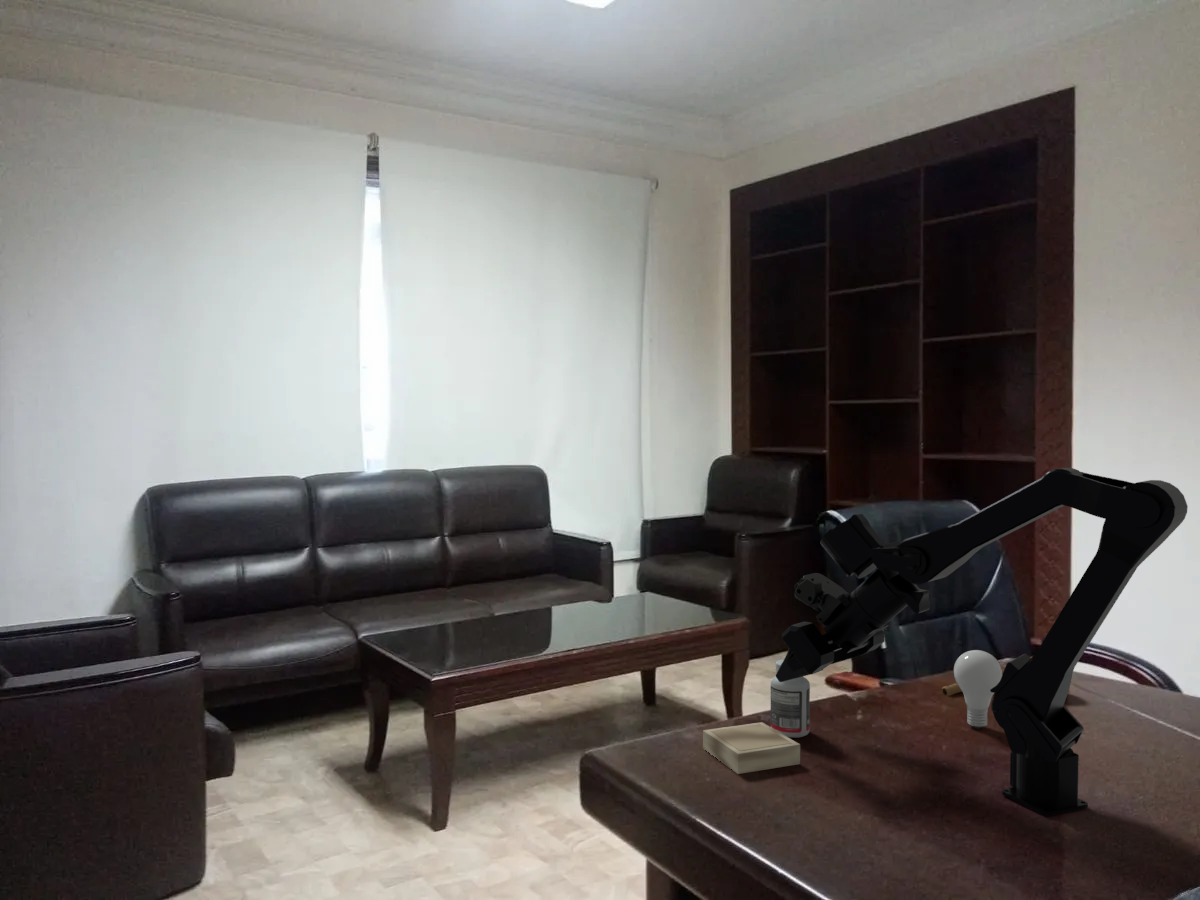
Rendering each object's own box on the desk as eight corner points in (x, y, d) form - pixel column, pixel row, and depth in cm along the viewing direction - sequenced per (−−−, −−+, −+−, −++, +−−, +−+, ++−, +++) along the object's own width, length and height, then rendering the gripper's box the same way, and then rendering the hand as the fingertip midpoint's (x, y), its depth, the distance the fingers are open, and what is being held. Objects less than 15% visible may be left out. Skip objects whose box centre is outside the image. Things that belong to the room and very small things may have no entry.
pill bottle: (786, 723, 126) (787, 655, 126) (817, 733, 122) (818, 663, 122) (762, 731, 123) (762, 661, 123) (793, 741, 119) (793, 670, 118)
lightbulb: (1009, 735, 121) (1010, 656, 121) (963, 735, 121) (964, 656, 121) (990, 720, 128) (991, 645, 127) (946, 719, 128) (947, 645, 128)
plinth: (799, 764, 111) (800, 744, 111) (737, 774, 107) (738, 753, 107) (761, 740, 119) (761, 721, 119) (702, 749, 116) (703, 729, 116)
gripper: (865, 549, 124) (795, 614, 132) (796, 564, 111) (723, 635, 119) (918, 613, 119) (842, 677, 127) (853, 636, 105) (772, 706, 113)
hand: (796, 672), depth 122 cm, fingers open, 9 cm apart
